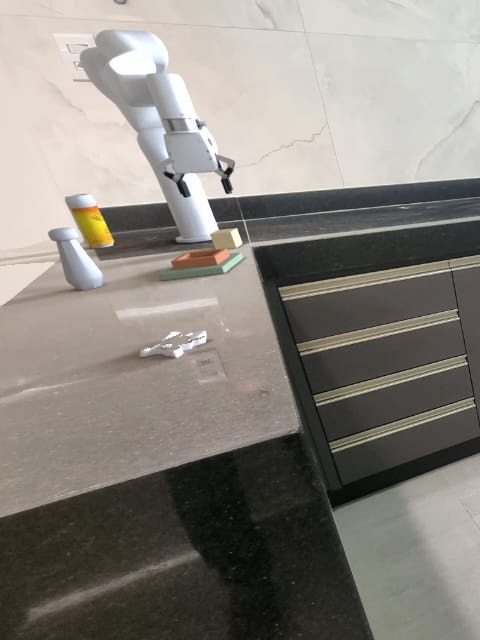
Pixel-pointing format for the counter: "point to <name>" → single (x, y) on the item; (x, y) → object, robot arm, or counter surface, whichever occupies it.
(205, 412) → the counter surface
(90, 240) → the beer can
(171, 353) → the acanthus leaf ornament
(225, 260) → the base pad
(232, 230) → the tan block
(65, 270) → the salt shaker
